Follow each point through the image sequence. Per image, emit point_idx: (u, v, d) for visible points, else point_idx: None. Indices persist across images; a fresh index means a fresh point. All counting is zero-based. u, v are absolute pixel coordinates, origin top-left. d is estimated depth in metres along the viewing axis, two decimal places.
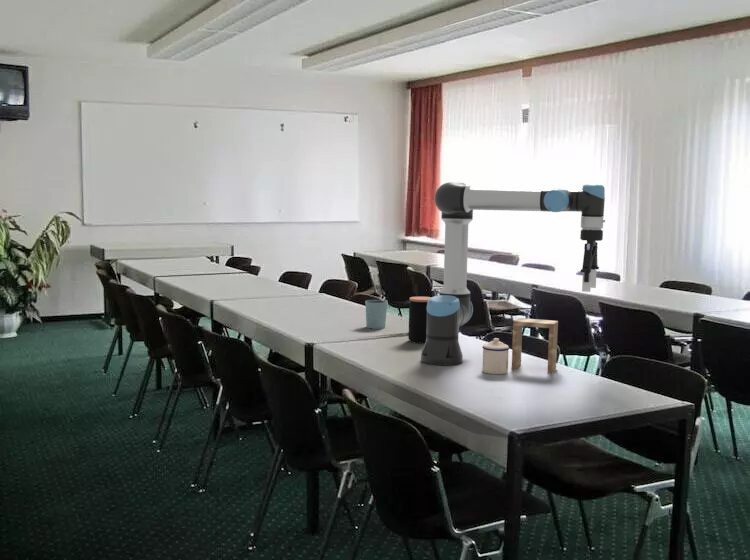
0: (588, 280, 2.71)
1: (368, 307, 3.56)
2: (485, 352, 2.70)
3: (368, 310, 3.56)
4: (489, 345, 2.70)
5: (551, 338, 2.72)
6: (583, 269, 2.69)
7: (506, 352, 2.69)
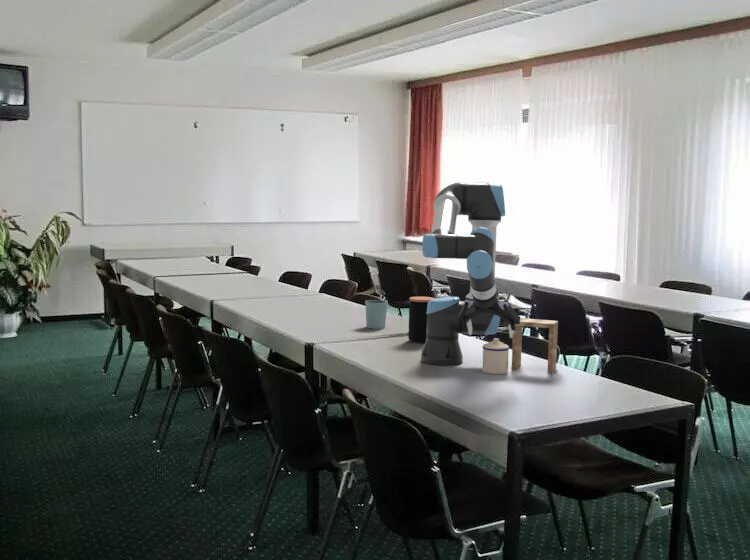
0: (466, 326, 2.62)
1: (368, 307, 3.56)
2: (485, 352, 2.70)
3: (368, 310, 3.56)
4: (489, 345, 2.70)
5: (551, 338, 2.72)
6: None
7: (506, 352, 2.69)
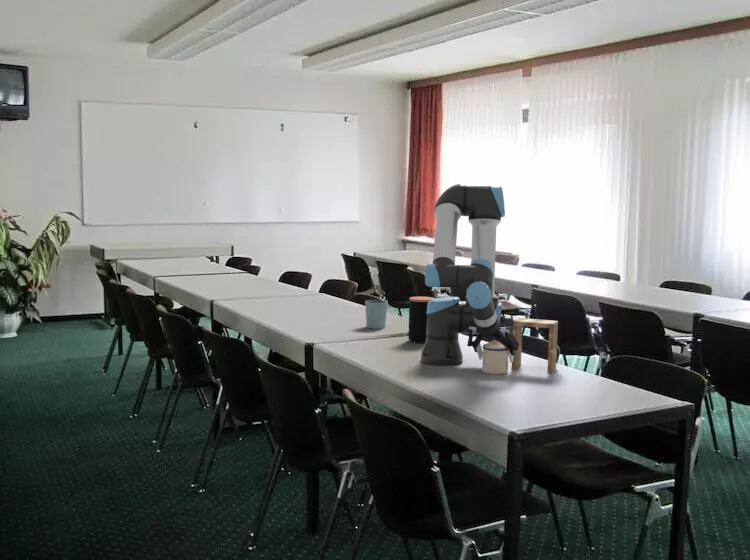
0: (476, 351, 2.76)
1: (368, 307, 3.56)
2: (485, 352, 2.70)
3: (368, 310, 3.56)
4: (489, 345, 2.70)
5: (551, 338, 2.72)
6: None
7: (506, 352, 2.69)
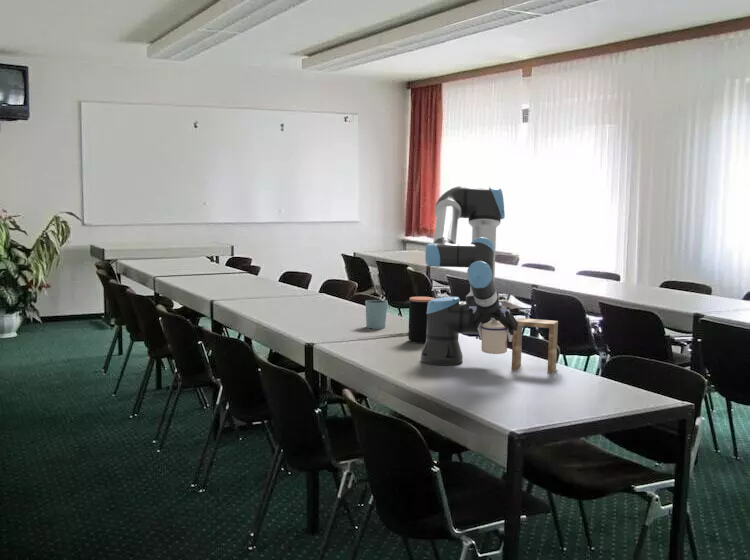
0: (477, 331, 2.75)
1: (368, 307, 3.56)
2: (484, 331, 2.70)
3: (368, 310, 3.56)
4: (488, 325, 2.69)
5: (551, 338, 2.72)
6: None
7: (505, 331, 2.69)
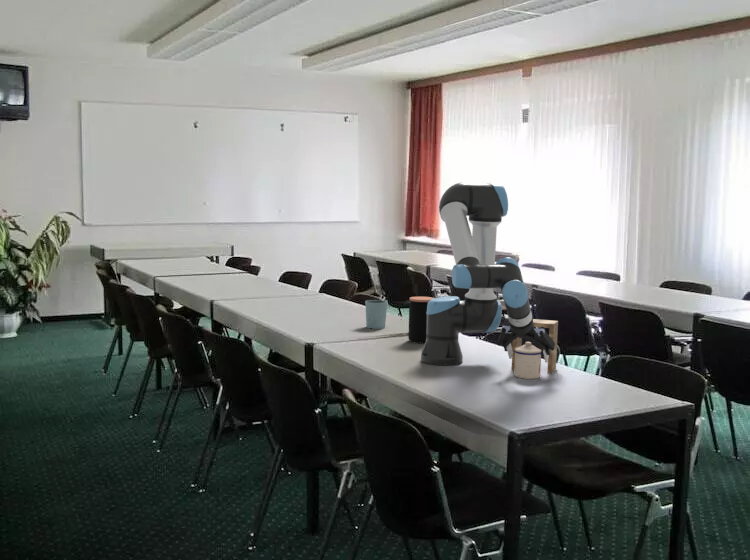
0: (506, 350, 2.69)
1: (368, 307, 3.56)
2: (517, 356, 2.64)
3: (368, 310, 3.56)
4: (521, 349, 2.64)
5: (551, 338, 2.72)
6: None
7: (538, 356, 2.63)
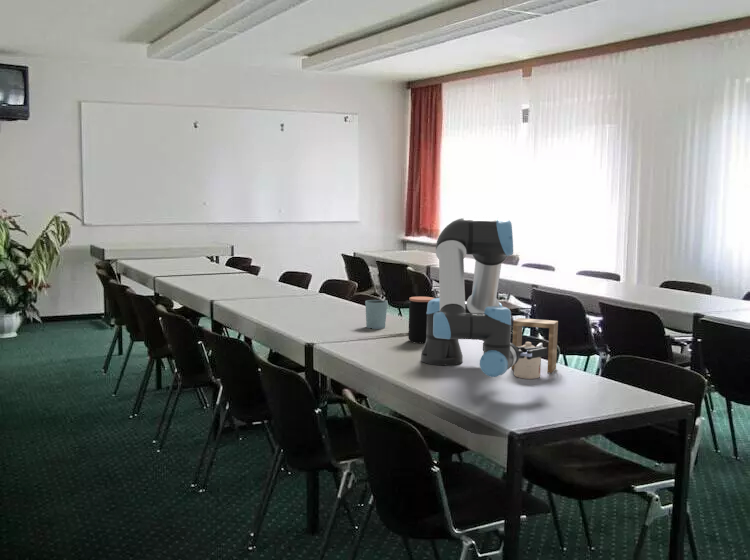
0: None
1: (368, 307, 3.56)
2: None
3: (368, 310, 3.56)
4: None
5: (551, 338, 2.72)
6: None
7: None
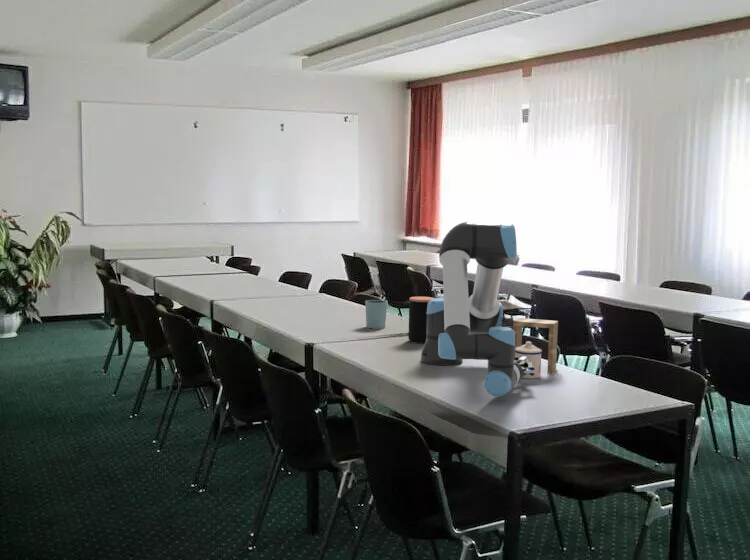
0: None
1: (368, 307, 3.56)
2: (517, 355, 2.65)
3: (368, 310, 3.56)
4: (521, 348, 2.65)
5: (551, 338, 2.72)
6: None
7: (539, 356, 2.64)
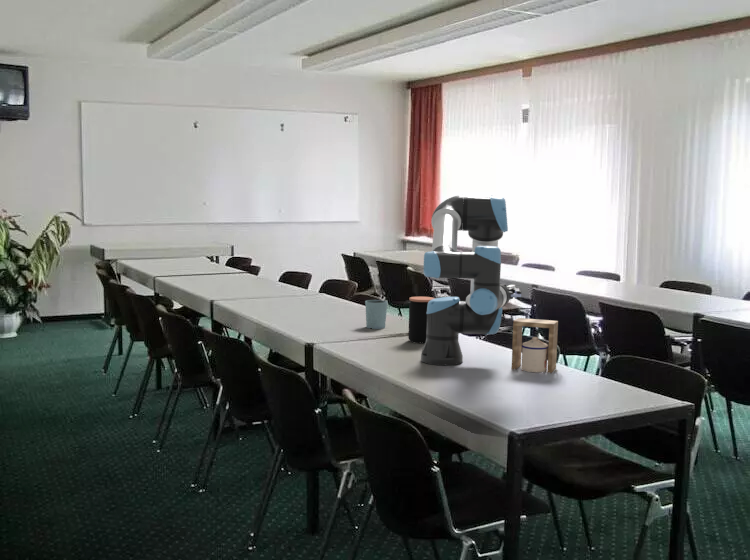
0: None
1: (368, 307, 3.56)
2: (523, 350, 2.75)
3: (368, 310, 3.56)
4: (527, 343, 2.74)
5: (551, 338, 2.72)
6: None
7: (544, 351, 2.73)
